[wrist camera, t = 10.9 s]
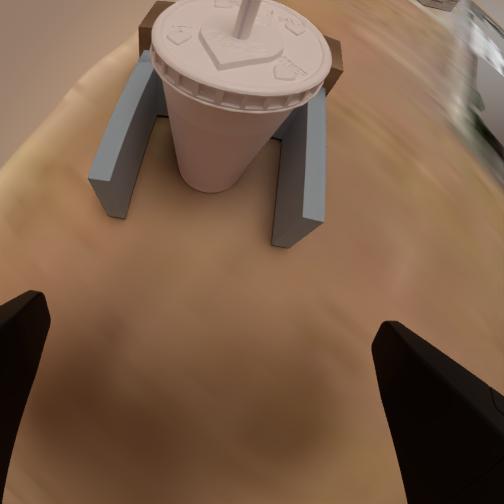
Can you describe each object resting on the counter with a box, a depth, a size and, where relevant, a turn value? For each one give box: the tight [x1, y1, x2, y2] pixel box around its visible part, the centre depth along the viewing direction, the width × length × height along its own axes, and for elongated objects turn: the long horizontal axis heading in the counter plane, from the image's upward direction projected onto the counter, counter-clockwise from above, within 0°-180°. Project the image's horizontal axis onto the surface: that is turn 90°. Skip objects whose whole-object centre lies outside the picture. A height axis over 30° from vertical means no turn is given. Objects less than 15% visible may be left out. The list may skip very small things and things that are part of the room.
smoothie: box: [149, 0, 332, 193], centre depth 11 cm, size 6×6×14 cm
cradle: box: [88, 50, 326, 248], centre depth 15 cm, size 8×10×4 cm
